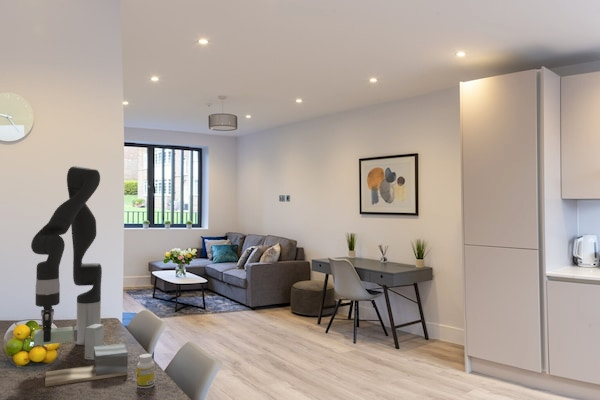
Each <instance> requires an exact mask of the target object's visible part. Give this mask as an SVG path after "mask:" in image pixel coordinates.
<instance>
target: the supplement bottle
mask: <svg viewBox="0 0 600 400" xmlns="http://www.w3.org/2000/svg"><path fill="white" fill-rule="evenodd" d="M138 360H139V362H138V363H137V364H136V386H137V388H138V389H141V388H145V389H149V388H152V387H153V386H155V384H156V381H155V379H156V378H155V377H156V376H155V375H156V373H155V370H156V369H155V367H156V366H155V365H156V364H155V362H154V360H153V354H151V353H143V354H139V359H138Z"/></svg>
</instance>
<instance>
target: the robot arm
mask: <svg viewBox="0 0 600 400" xmlns="http://www.w3.org/2000/svg"><path fill="white" fill-rule="evenodd" d="M66 174H67V175H66V185H67V192H68V199H67V200H65V201H64V202H63V203H61V204H60V205H59V206H58V207H57V208H56V209H55V211H54V212H53V214H52V216H51V218H50V219H49V221H48V222H47V223H46V224H45V225H43V227H42V228H41V229H40V230H39V231H37V233H36V234H35V235H34V236H33V238H32V241H31V245H30V247H31V251H32V252H33V253H34V254H36V255H41V256H42V255H43V256H44V255H45V256H47V259H46V260H44V261H40V262H38V263H37V264H36V281H35V306H36V307H38V308H39V307H40V308H41V307H42V308H43V309H41V312H40V316H41V325H42V330H43V331H44V337H43V341H44V342H50V341H51V330H52V326H53V324H54V323H53V322H54V314H55V309H54V308H53V307H54V306H57V305H59V304H60V301H61V300H60V298H61V297H60V291H61V290H60V289H61V287H60V286H61V285H60V284H61V283H60V264H61V262H62V257H63V254H64V250H65V248H66V247H65V245H66V244H65V240H64V238H63V237H62V235H64V234H67V232H68V231H69V230H70V228H71V240H72V250H73V251H72V253H73V254H72V255H73V259H72V260H73V261H72V264H73V265H72V266H73V267H72V279H73V283H74V285H75V286H79V287H80V286H82V287H83V286H85V287H86V286H87V287H88V286H92V288H91V289H88V290H87V291H84V292H83V293H80V294H78V295H77V296H76V326H77V341H76V345H78V346H85V328H86V327H88V326H91V325H94V324H102V323H101V316H102V315H101V314H102V313H101V311H102V310H101V309H102V305H101V302H102V301H101V300H102V299H101V298H102V297H101V295H102V293H101V292H102V288H101V287H102V277H103V276H102V272H103V271H102V265H101V263H97V262H93V263H92V262H91V263H83V258H84V257H85V254H86V253H87V251H88V249H89V248H90V246H91V245H92V244H93V242H94V241H95V239H96V237H97V220H96V217H95V215H94V213H93V212H92V211H91V209H90V208H89V206H88V205H87V202H88V201H89V200H90V198H91V197H92V196H93V194H94V193H95V192H96V190H97V189H98V187H99V185H100V182H101V174H100V171H98V169H96V168H92V167H85V166H77V165H76V166H70V168H68V171H67V173H66Z"/></svg>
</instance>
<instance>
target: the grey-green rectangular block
mask: <svg viewBox="0 0 600 400" xmlns="http://www.w3.org/2000/svg"><path fill="white" fill-rule="evenodd" d="M51 328H52V327H51ZM42 329H43V328H42ZM42 329H34V334H33V346H34V347H36V346H45V345H54V344H55V345H56V344H62V343H71V342H72V343H73V341H74V342H77V325H74V326H63V327H53V328H52V330H51V341H50V342H44V341H43V337H44V331H43V330H42Z"/></svg>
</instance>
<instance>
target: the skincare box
mask: <svg viewBox="0 0 600 400" xmlns="http://www.w3.org/2000/svg"><path fill="white" fill-rule="evenodd" d="M104 338H105V324H102V323H101V324H94V325H91V326H88V327H86V328H85V345H84V360H89V361H90V360H91V361H94V346H103V345H105V344H104V341H105V339H104Z"/></svg>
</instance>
